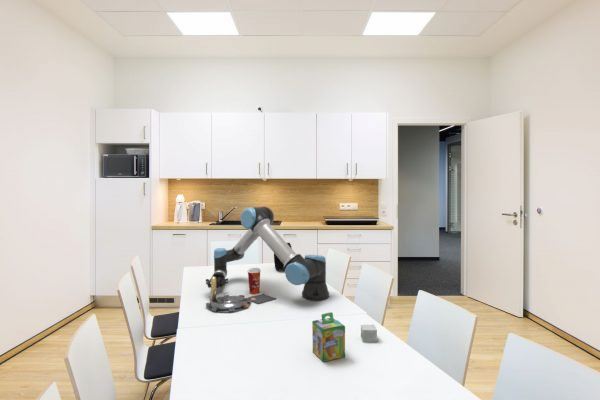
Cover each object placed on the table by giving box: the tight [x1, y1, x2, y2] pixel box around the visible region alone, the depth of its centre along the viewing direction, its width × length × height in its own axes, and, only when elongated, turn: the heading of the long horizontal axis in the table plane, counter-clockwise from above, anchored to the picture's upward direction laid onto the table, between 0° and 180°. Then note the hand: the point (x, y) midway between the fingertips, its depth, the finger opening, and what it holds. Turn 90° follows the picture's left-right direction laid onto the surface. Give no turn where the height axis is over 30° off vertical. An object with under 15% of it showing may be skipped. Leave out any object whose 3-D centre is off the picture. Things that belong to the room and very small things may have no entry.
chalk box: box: [311, 312, 346, 363], centre depth 127 cm, size 9×9×15 cm
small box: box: [360, 324, 378, 343], centre depth 139 cm, size 6×6×5 cm
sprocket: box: [205, 276, 253, 311], centre depth 181 cm, size 23×23×13 cm
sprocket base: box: [206, 302, 251, 314], centre depth 181 cm, size 22×22×1 cm
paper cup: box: [247, 267, 262, 295], centre depth 202 cm, size 8×8×14 cm
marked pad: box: [245, 293, 277, 305], centre depth 191 cm, size 12×12×1 cm
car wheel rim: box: [273, 242, 293, 272], centre depth 259 cm, size 20×10×20 cm, turn 14°
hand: (213, 289), depth 185 cm, fingers closed
